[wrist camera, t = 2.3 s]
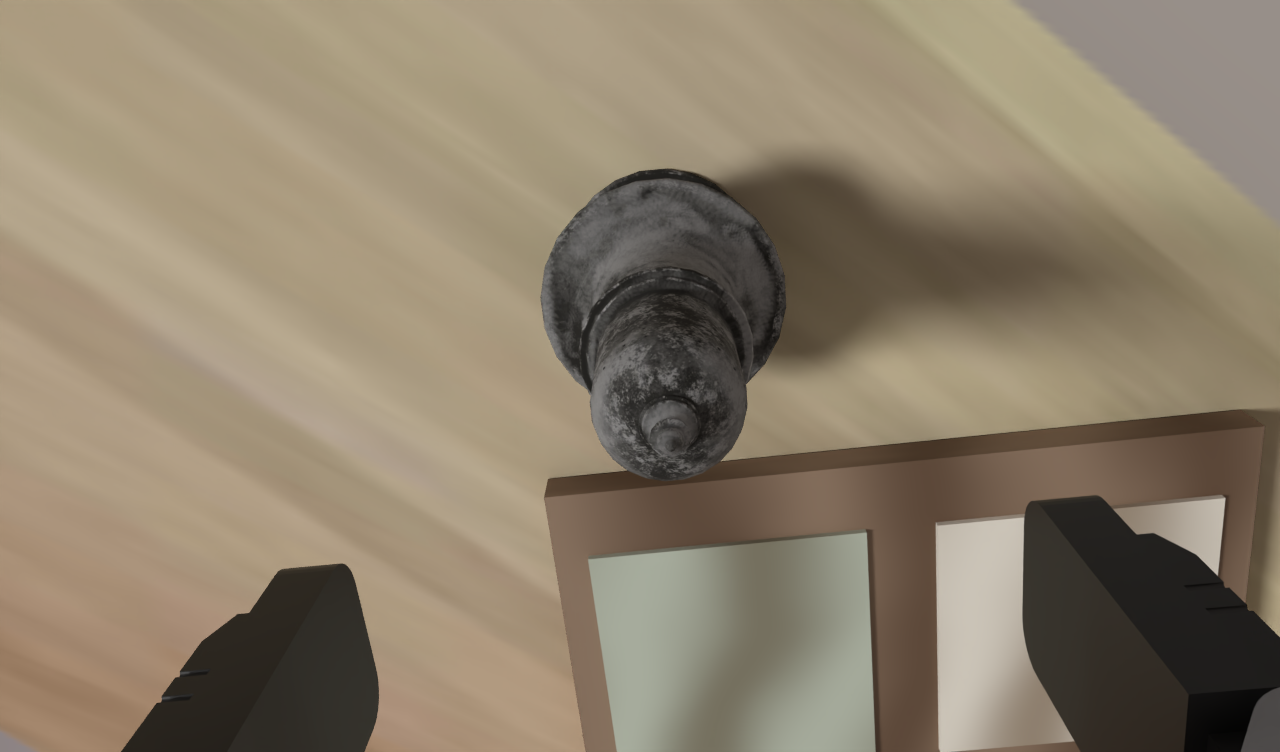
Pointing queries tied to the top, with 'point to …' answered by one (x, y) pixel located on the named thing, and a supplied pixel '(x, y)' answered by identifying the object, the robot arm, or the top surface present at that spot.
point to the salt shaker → (664, 317)
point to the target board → (862, 584)
